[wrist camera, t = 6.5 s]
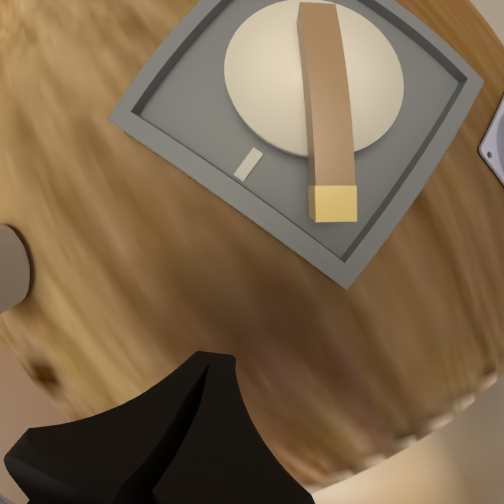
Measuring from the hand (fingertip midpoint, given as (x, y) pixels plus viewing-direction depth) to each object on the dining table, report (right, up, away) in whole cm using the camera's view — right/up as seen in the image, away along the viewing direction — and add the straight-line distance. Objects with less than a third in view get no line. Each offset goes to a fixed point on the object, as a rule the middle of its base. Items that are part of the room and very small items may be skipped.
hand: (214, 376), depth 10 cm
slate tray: (+5, +15, +7) cm, 17 cm away
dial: (+5, +13, +6) cm, 15 cm away
